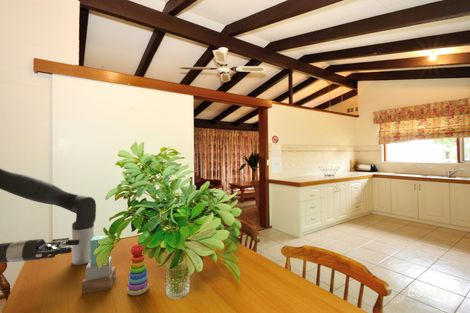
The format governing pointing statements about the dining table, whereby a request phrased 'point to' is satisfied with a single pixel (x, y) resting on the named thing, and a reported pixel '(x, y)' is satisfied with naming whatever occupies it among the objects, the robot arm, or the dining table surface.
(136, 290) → the stacking toy
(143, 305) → the dining table surface
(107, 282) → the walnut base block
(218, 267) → the dining table surface
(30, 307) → the dining table surface
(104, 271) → the grey top block
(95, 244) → the teal pillar block
